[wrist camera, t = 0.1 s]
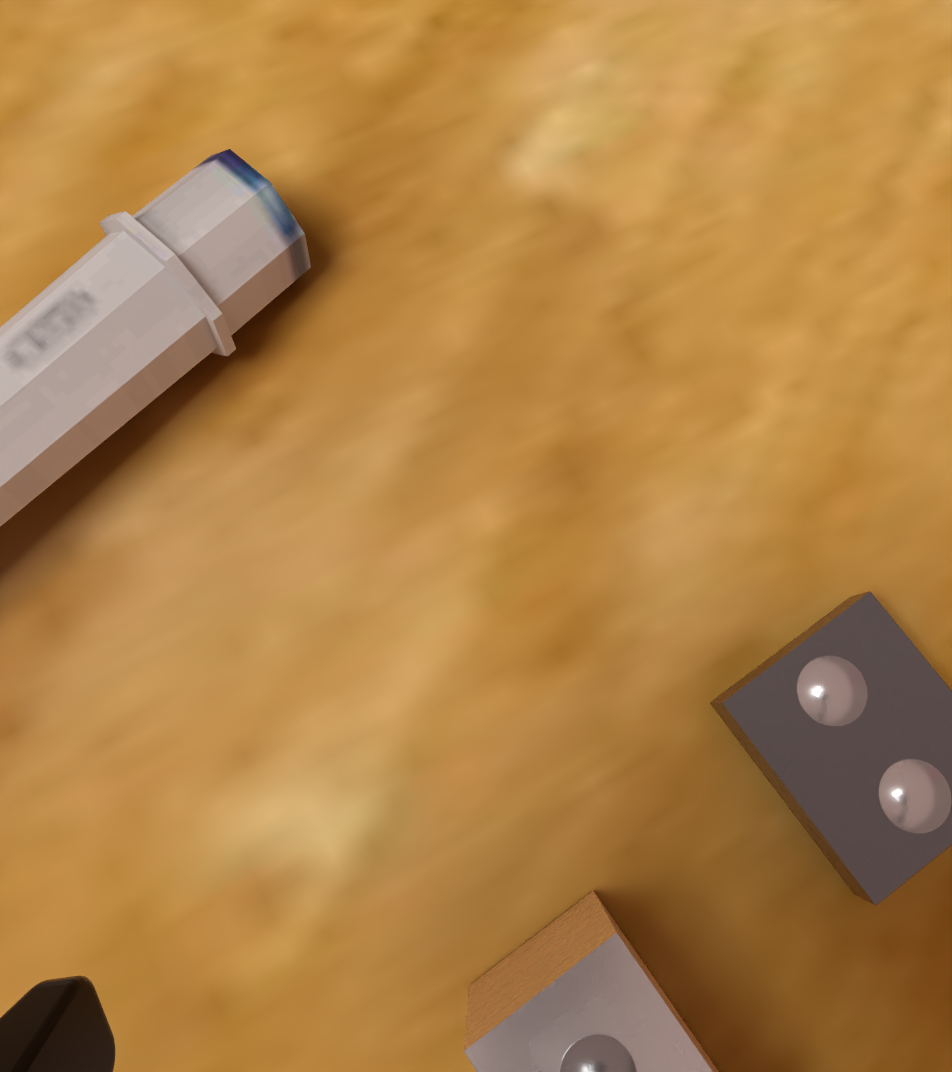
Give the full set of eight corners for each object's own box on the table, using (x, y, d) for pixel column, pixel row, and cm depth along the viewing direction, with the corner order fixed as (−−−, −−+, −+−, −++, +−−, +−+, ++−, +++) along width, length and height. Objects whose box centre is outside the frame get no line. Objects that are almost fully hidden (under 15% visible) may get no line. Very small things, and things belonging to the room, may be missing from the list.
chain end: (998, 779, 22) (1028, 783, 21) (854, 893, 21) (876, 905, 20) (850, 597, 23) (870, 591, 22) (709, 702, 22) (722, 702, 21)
